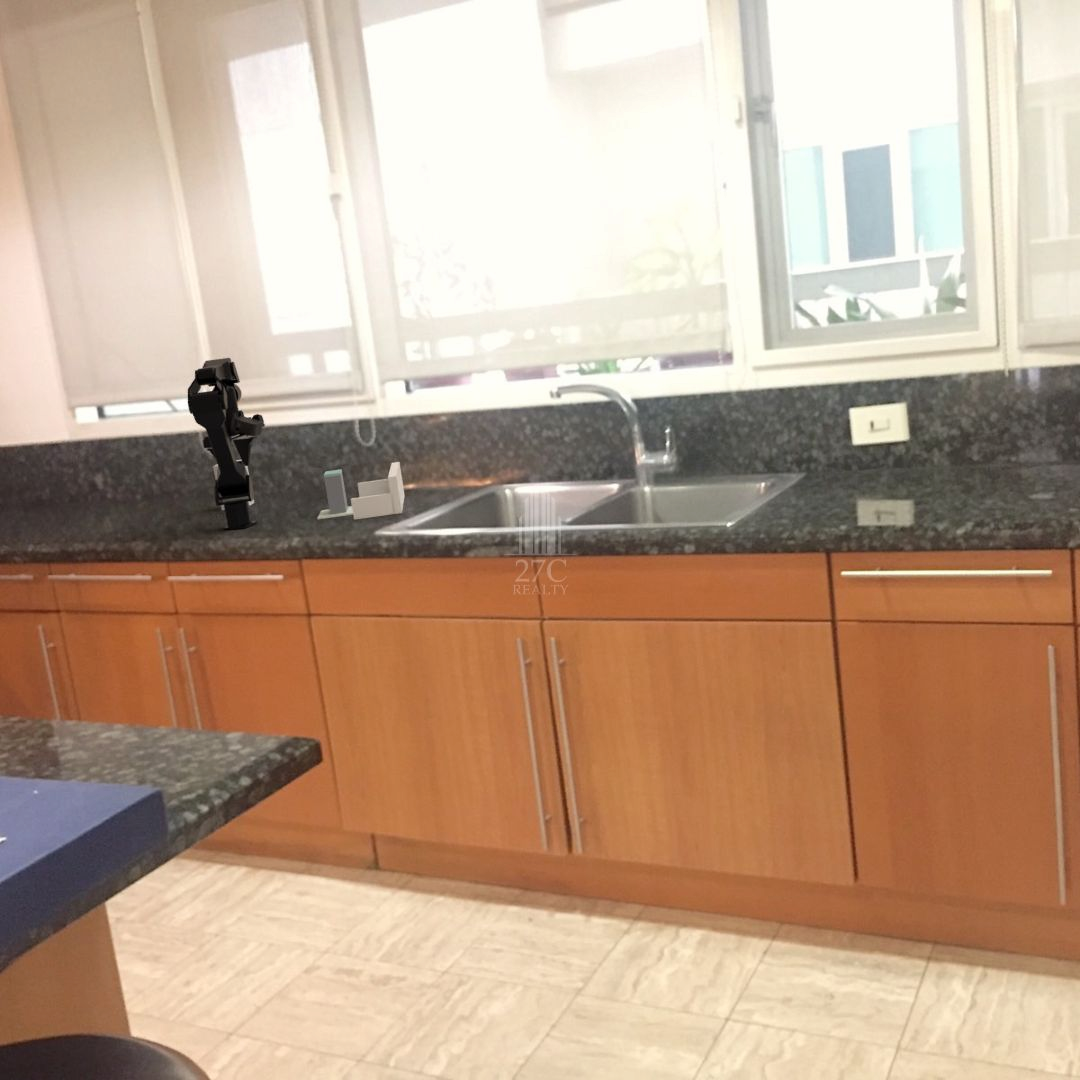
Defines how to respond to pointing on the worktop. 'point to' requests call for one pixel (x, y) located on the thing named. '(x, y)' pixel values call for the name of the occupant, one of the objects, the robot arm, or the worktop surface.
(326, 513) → the mat
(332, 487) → the grey teal block
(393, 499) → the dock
